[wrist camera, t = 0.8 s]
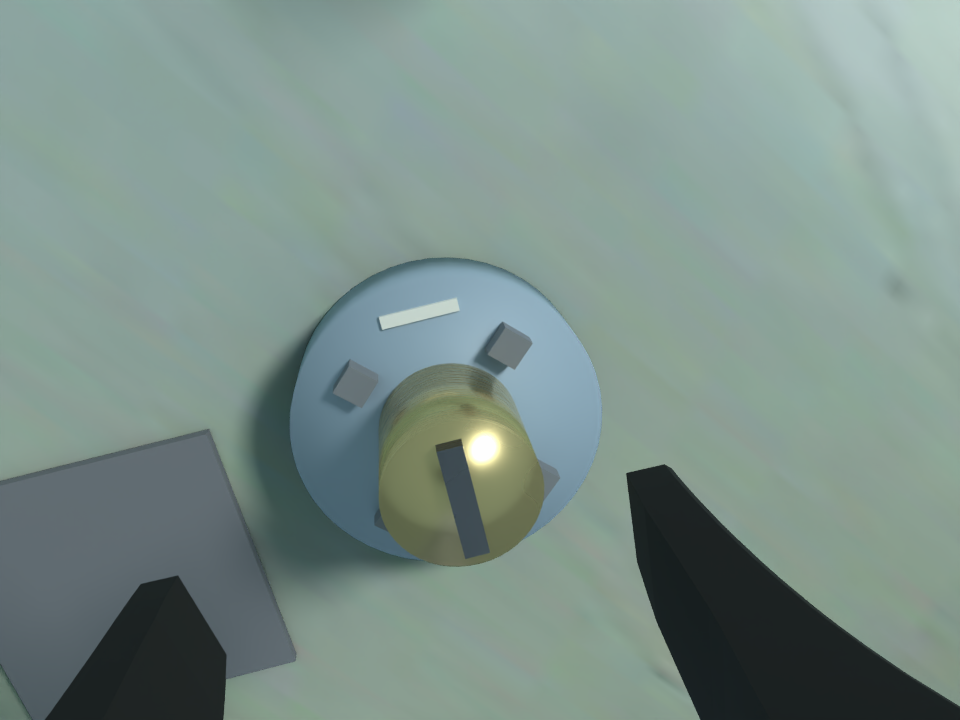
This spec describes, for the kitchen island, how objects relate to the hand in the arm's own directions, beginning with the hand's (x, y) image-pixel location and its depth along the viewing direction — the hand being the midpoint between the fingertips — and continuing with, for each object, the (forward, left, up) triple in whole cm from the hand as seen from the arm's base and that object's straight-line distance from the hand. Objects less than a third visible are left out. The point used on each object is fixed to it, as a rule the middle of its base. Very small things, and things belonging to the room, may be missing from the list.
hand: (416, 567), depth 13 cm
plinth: (-4, -1, -15) cm, 15 cm away
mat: (-8, +12, -15) cm, 21 cm away
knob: (-4, -1, -12) cm, 13 cm away
